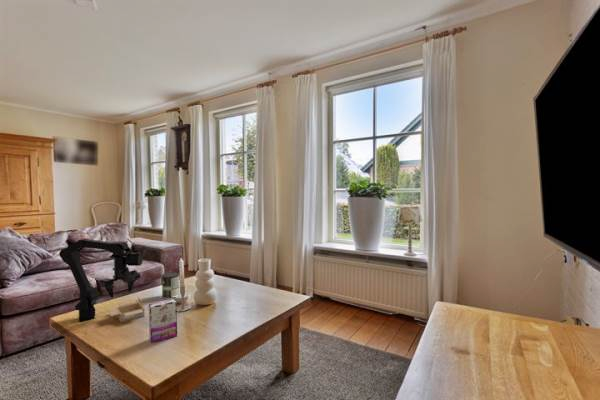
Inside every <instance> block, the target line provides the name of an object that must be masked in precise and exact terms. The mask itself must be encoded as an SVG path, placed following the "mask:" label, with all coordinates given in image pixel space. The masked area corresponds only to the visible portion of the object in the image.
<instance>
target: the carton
mask: <svg viewBox="0 0 600 400" xmlns="http://www.w3.org/2000/svg"><path fill="white" fill-rule="evenodd" d="M143 306H144V305H143ZM143 306H142V305H141V304H140V303H139V302H136V303H133V304H128V305H124V306H119V307H116V308H114V309H108V310H107V312H108V315H109V316H110V317H113V316H116V317H117V319H118V320H119V322H120V323H124V322H128V321H132V320H135V319H136V320H137V319H140V318H144V317H145V307H143Z"/></svg>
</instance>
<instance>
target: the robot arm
mask: <svg viewBox="0 0 600 400" xmlns="http://www.w3.org/2000/svg"><path fill="white" fill-rule="evenodd" d="M85 248H89V249H96V250H103V251H107V252H109V253H112V254H111V255H109V258H110V259H113V267H112V271H113V272H114V275H112V278H103V279H100V281H99V282H98V286H100V287H101V288H104V289H105V290H106V292H107V293H108V295H109V297H110V298H111V299H113V298H114V288H115V285H114V284H115V283H117V282H121V281H123V283H127V291H128V293H131V291H132V289H133V286H134V285H135V282H136V281H138V280H139V279H141V273H140V272H138V270H136V269H134V270H130V269H129V266H130V267H133V266H142V265H143V263H144V262H143V261H144V257H143V255H142V254H141V253H142V252H133V250H132V249H131V248H130V247H129V244H128V243H127V241H124V240H123V241H121V240H120V241H104V240H99V239H98V240H97V239H89V238H82V239H78V240H77V241H76V242H74V243H73V244H70V245H69V246H67V247H64V248H62V249H60V251H59V257H60V259H61V260H62V262H63V263H65V264H67V265H68V266H69V269H70V271H71V273H72V276H73V278H74V281H75V282H76V285H77V287H78V290H79V295H78V297H79V302H78V303H77V304H75V306H74V308H75V310H76V311H78V317H77V318H78V322H79V323H82V322H86V321H89V320H93V319H96V308H95V305H96V304H97V301H98V300H99V299H100V294H101V293H100V291H99V289H98V287H97V286H95V287H94V286H92V285H91V283H90V280H89V279H88V276H87V274H86V271H85V270H84V267H83V265H82V263H81V256H82V255H81V254H82V253H81V251H83V250H84V249H85Z"/></svg>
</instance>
